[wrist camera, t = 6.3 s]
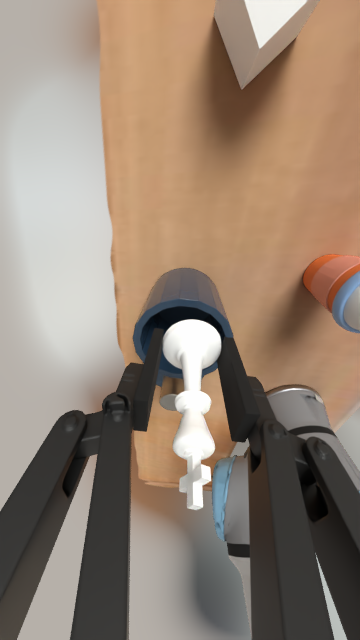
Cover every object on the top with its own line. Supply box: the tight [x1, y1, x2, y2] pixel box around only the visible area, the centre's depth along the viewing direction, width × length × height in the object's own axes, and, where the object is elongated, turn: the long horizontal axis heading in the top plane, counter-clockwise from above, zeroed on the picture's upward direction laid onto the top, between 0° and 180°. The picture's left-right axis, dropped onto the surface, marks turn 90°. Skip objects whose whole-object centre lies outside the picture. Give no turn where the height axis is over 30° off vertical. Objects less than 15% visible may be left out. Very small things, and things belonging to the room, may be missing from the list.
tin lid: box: [156, 373, 204, 411], centre depth 38 cm, size 13×13×9 cm
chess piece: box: [162, 320, 221, 510], centre depth 11 cm, size 5×5×10 cm
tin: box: [133, 268, 233, 379], centre depth 28 cm, size 12×12×12 cm
